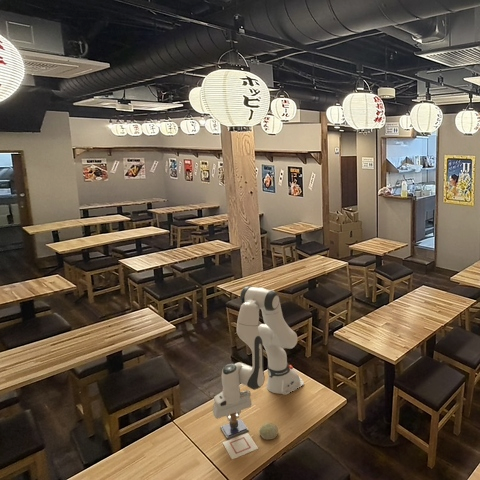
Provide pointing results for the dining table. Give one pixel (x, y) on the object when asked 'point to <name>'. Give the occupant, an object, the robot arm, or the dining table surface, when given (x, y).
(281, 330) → the robot arm
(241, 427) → the ink pad
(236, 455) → the sheet
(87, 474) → the dining table surface
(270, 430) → the sea urchin shell
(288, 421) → the dining table surface
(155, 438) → the dining table surface
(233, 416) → the stamp
